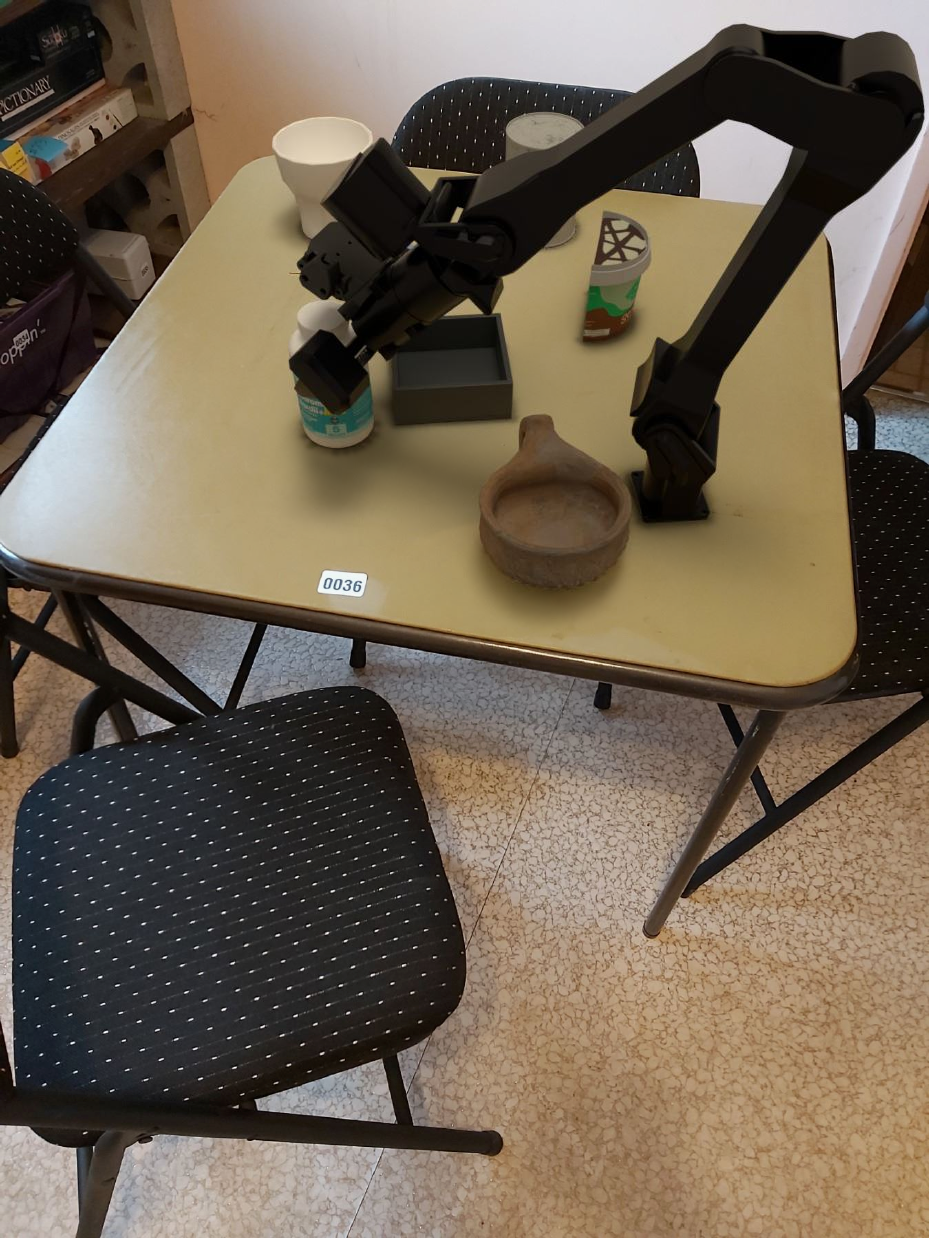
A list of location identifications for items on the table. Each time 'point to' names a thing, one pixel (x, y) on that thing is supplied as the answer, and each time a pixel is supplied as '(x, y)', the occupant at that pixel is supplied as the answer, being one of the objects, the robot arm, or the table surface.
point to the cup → (317, 162)
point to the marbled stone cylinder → (542, 147)
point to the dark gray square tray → (454, 372)
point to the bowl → (553, 512)
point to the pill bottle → (314, 414)
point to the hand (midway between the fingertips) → (323, 364)
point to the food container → (615, 276)
